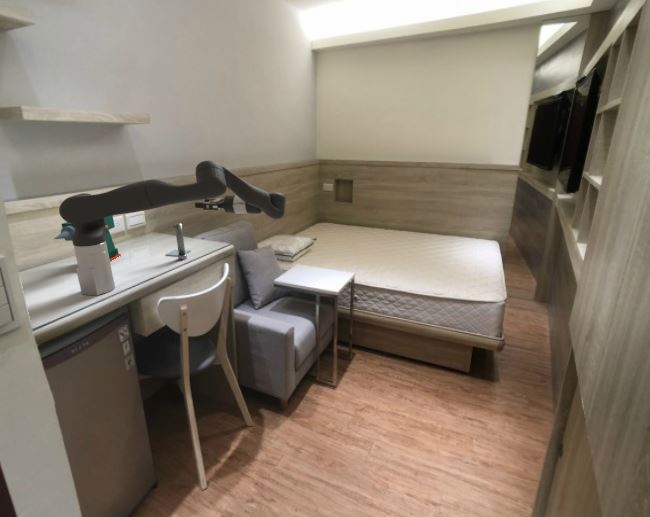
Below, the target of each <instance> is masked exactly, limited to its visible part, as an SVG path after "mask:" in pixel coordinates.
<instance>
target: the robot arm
mask: <svg viewBox="0 0 650 517" xmlns="http://www.w3.org/2000/svg"><path fill="white" fill-rule="evenodd" d="M195 179H196V180H195V181H196V182H195V183H191V184H183V185H177V184H175V183H174V184H173V183H170V182H167V181H163V180H161V179H154V178H153V179H152V178H151V179H146V180H142V181H136V182H133V183H129V184H125V185H123V186H120V187H116V188H114V189H111V190H109V191H106V192H102V193H98V194H97V193H96V194H91V193H85V192H84V193H79V194H76V195H72V196H71V195H70V196H68V197H67V198H65V199H64V200H63V201H62V202H61V203H60V205H59V207H58V211H59V213H58V214H59V215H60V218H61V219H62V220H64V221H65V223H66V222H68V223H71V224H75V231H74V234H73V236H72V241H71V242H72V245H73V250H74V254H75V258H76V263H77V267H76V276H77V279H78V283H79V287H80V291H81V295H88V296H100V295H102V294H105V293H109V292H111V291H113V290H114V289H115V288H116V286H115V284H116V283H115V280H114V276H113V270H112V266H111V262H110V259H109V255H108V250H107V244H106V239H105V234H106V226H105V219H104V218H105V217H108V216H112V215H113V216H117V215H118V216H119V215H124V214H133V213H139V212H143V211H144V212H145V211H149V210H154V209H158V208H162V207H165V206H170V205H176V204H180V203H181V204H182V203H186V202H193V201H196V202H194V208H195V209H203V210H204V211H218V210H222V209H223V210H224V212H225V213H226V214H235V215H236V214H238V215H239V214H240V215H241V214H244V215H245V214H251V215H252V214H255V215H257V214H261V213H264V214H265V215H266V216H268V217H269V218H270V219H274V220H279V219H282V218H284V216H285V211H286V210H285V209H286V201H287V200H286V199H287V198H286V196H285V195H284V194H283V193H282V192H277V191H276V192H270V193H269V192H267V191H265V190H264V189H261V188H259V187H256V186H255V185H253V184H250V183H249V182H247V181H245V180H244V179H242V178H241V177H239V176H238V175H236V174H235V173H233V172H232V171H230V170H229V169H228V168H226V167H225V166H224V165H222V164H220V163H218V162H216V161H213V160H204V161H201V162H199V163H198V164H197V165H196V167H195ZM227 189H229V190H230V191H232V192H233V193H234V194H227V195H225V196H224V197H223V198H221V196H223V195H224V194H226V192H227ZM200 200H204V201H203V202H200ZM198 201H199V202H198Z"/></svg>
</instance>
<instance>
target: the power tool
mask: <svg viewBox="0 0 650 517" xmlns="http://www.w3.org/2000/svg"><path fill="white" fill-rule="evenodd" d="M104 219H105V226H106V234H105V239H106V244H107V250H108V255H109V259H110V263H112V262H113V261H115V260H117V259H118V258H120V257H122V253H119V248H116V246H115V244H114V240H113V238H112V235H111V232H110V230H112V229H115V227H116V226H115V220H114V215H112V216H108V217H105V218H104ZM74 231H75V224H71V223H68V222H66V221H65V222H63V223H61V230H60V233H59V234H58V235H57V236H56V237H54V238H53V240H61V239H62V240H63V239H64V240H65V241H68V242H70V241H71V242H72V236H73V234H74ZM119 256H120V257H119ZM117 257H118V258H117ZM116 258H117V259H116ZM114 259H115V260H114ZM112 260H113V261H112Z"/></svg>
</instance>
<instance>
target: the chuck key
mask: <svg viewBox="0 0 650 517" xmlns="http://www.w3.org/2000/svg"><path fill="white" fill-rule="evenodd" d="M183 225H184V222H183V221H180V222H176V223H174V225H172V228H174V229H175V236H176V244H177V245H176V246H177V250H178V256H177V260H178V261H186V260H187V259H188V256H187V254H185V250H186V246H185V242H184V241H185V240H184V232H183ZM185 259H186V260H185Z"/></svg>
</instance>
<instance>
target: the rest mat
mask: <svg viewBox="0 0 650 517" xmlns="http://www.w3.org/2000/svg"><path fill="white" fill-rule="evenodd" d="M189 251H190V252H192V251H191V250H190V249H189V250H187V249H185V254H186V253H187V254H189V253H190V252H189ZM188 252H189V253H188ZM187 254H186V255H187ZM164 255H168V256H167V257H178V249H173V250H171V251H170V252H167V253H166V254H164Z"/></svg>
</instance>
